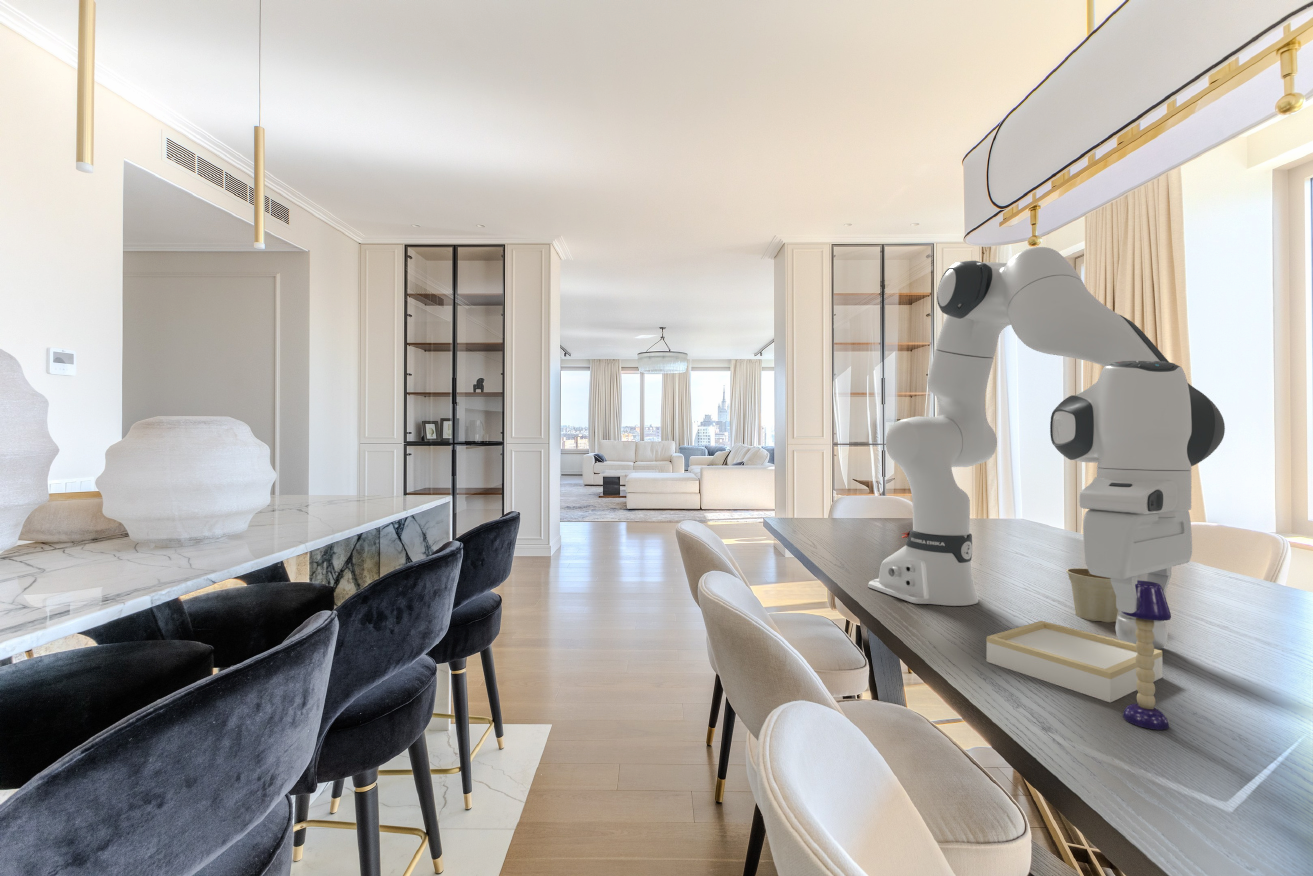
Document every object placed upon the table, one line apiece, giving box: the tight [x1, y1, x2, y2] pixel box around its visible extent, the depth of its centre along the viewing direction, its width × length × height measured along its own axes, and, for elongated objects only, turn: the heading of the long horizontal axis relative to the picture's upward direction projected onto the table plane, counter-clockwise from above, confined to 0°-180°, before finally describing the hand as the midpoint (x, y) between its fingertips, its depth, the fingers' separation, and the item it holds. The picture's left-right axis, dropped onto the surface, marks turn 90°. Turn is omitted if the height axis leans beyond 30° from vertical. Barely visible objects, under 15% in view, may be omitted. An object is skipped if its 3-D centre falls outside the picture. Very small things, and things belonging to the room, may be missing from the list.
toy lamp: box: [1121, 580, 1172, 731], centre depth 70 cm, size 5×5×17 cm
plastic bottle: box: [1114, 573, 1169, 650], centre depth 95 cm, size 6×7×20 cm
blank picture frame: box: [986, 620, 1163, 703], centre depth 86 cm, size 16×16×4 cm
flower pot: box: [1065, 567, 1119, 623], centre depth 111 cm, size 9×9×9 cm
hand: (1141, 607), depth 70 cm, fingers open, 6 cm apart
